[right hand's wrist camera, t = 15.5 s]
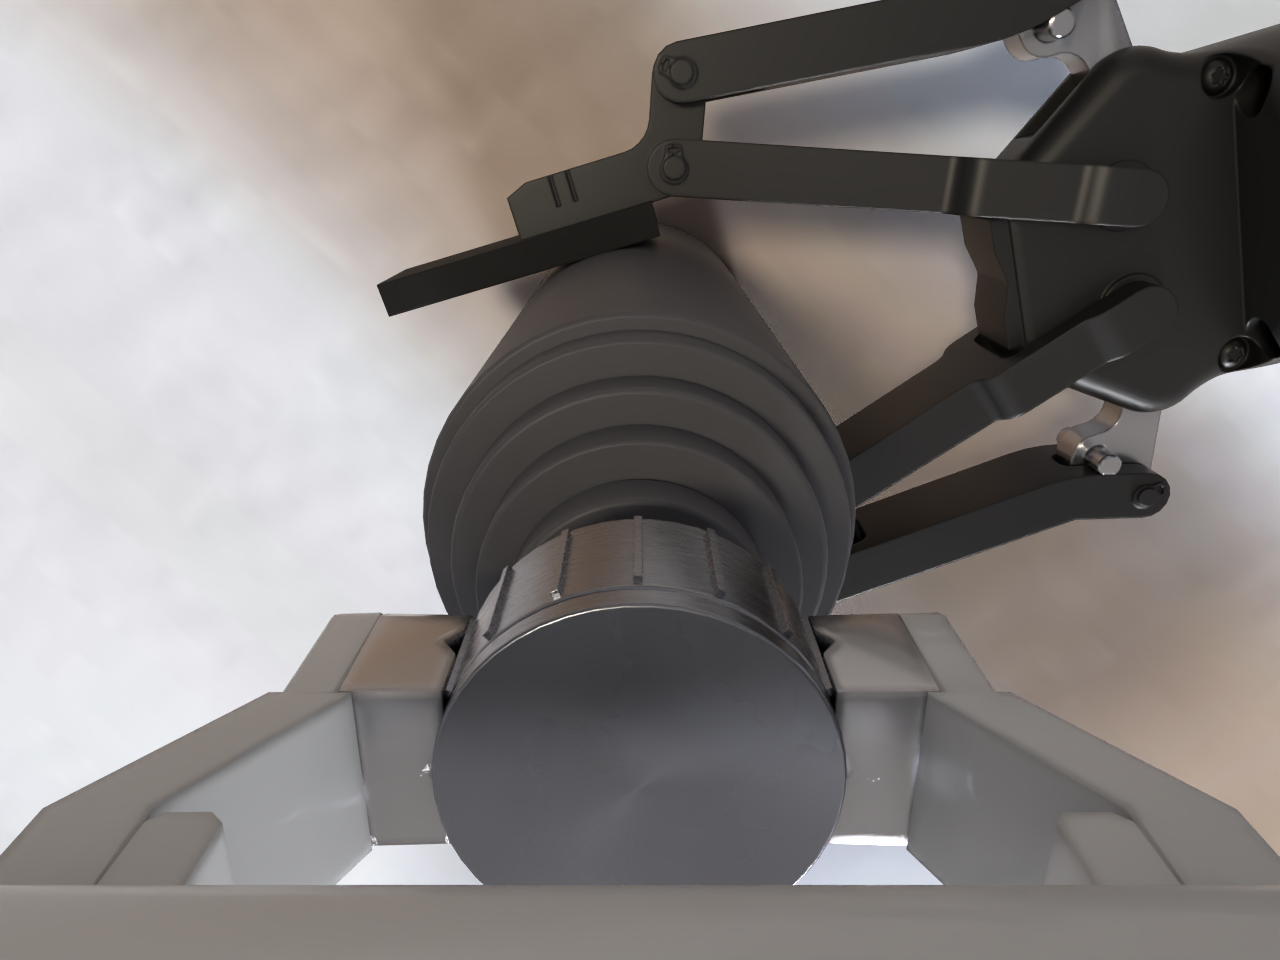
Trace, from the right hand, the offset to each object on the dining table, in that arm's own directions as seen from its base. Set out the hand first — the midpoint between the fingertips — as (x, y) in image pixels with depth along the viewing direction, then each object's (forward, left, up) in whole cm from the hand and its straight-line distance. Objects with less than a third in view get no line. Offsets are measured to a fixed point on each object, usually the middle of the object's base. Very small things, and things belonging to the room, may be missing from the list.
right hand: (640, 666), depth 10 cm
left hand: (-5, 0, -13) cm, 14 cm away
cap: (0, 0, +2) cm, 2 cm away
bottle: (0, 0, -19) cm, 19 cm away
